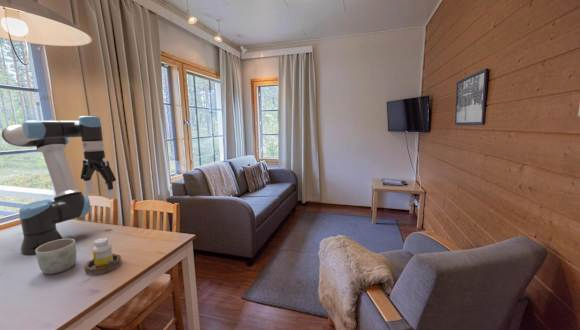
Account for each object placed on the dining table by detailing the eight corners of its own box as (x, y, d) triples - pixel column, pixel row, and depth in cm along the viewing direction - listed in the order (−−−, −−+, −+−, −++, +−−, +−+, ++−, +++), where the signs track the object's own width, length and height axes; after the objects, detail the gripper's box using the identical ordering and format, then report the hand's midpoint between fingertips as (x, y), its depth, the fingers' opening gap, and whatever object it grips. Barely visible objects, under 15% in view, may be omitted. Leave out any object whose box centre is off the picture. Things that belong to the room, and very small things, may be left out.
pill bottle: (101, 261, 110) (98, 236, 108) (116, 260, 111) (113, 236, 109) (91, 269, 104) (87, 244, 102) (106, 269, 104) (103, 243, 102)
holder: (78, 271, 104) (77, 266, 103) (108, 257, 115) (107, 251, 115) (98, 277, 100) (97, 272, 99) (127, 261, 111) (126, 256, 111)
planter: (45, 280, 98) (40, 255, 96) (35, 271, 105) (31, 247, 103) (83, 265, 108) (79, 242, 107) (72, 257, 115) (69, 235, 113)
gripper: (66, 150, 113) (73, 194, 116) (104, 152, 105) (110, 199, 108) (84, 148, 120) (90, 190, 123) (121, 150, 112) (126, 195, 115)
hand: (100, 195), depth 116 cm, fingers open, 13 cm apart
